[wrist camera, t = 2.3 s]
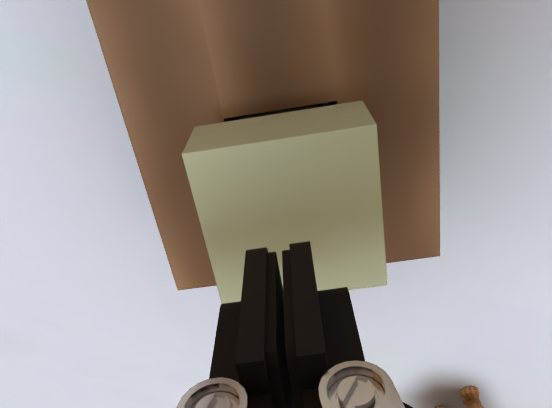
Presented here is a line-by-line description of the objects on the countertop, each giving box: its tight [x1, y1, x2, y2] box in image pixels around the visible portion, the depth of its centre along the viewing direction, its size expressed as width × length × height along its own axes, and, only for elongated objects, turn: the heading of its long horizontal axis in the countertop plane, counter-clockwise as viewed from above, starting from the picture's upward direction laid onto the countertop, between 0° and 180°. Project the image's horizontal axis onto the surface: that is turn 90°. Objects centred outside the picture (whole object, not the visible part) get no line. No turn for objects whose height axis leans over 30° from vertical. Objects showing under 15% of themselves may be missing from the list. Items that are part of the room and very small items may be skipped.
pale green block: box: [182, 101, 387, 304], centre depth 18 cm, size 6×6×7 cm
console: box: [86, 0, 440, 290], centre depth 20 cm, size 12×22×6 cm, turn 9°
